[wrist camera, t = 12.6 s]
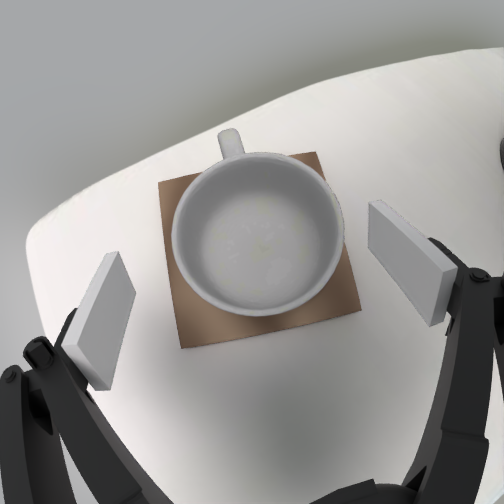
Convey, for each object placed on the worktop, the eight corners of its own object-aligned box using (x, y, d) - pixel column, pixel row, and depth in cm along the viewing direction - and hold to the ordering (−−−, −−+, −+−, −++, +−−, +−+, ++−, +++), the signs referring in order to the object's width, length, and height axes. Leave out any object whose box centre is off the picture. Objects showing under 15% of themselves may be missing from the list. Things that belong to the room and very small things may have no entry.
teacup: (328, 312, 25) (357, 304, 17) (198, 324, 25) (171, 322, 17) (306, 163, 28) (319, 110, 21) (192, 173, 29) (171, 123, 21)
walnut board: (313, 157, 31) (316, 147, 29) (357, 311, 27) (364, 309, 25) (161, 187, 31) (155, 178, 29) (184, 348, 27) (178, 349, 25)
